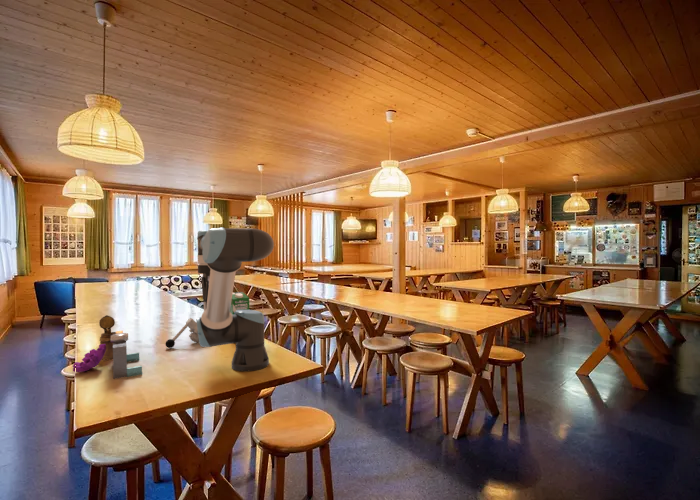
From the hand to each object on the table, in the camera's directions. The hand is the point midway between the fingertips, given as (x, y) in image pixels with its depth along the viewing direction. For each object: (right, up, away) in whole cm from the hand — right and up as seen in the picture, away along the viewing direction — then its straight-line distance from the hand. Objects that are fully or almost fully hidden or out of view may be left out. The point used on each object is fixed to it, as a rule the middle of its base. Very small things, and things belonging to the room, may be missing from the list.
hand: (207, 315), depth 166 cm
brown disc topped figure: (-45, -19, -1) cm, 48 cm away
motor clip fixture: (-26, -19, -18) cm, 37 cm away
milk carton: (+6, -18, +26) cm, 32 cm away
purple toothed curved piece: (-40, -19, -20) cm, 49 cm away
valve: (-13, -21, +20) cm, 32 cm away
